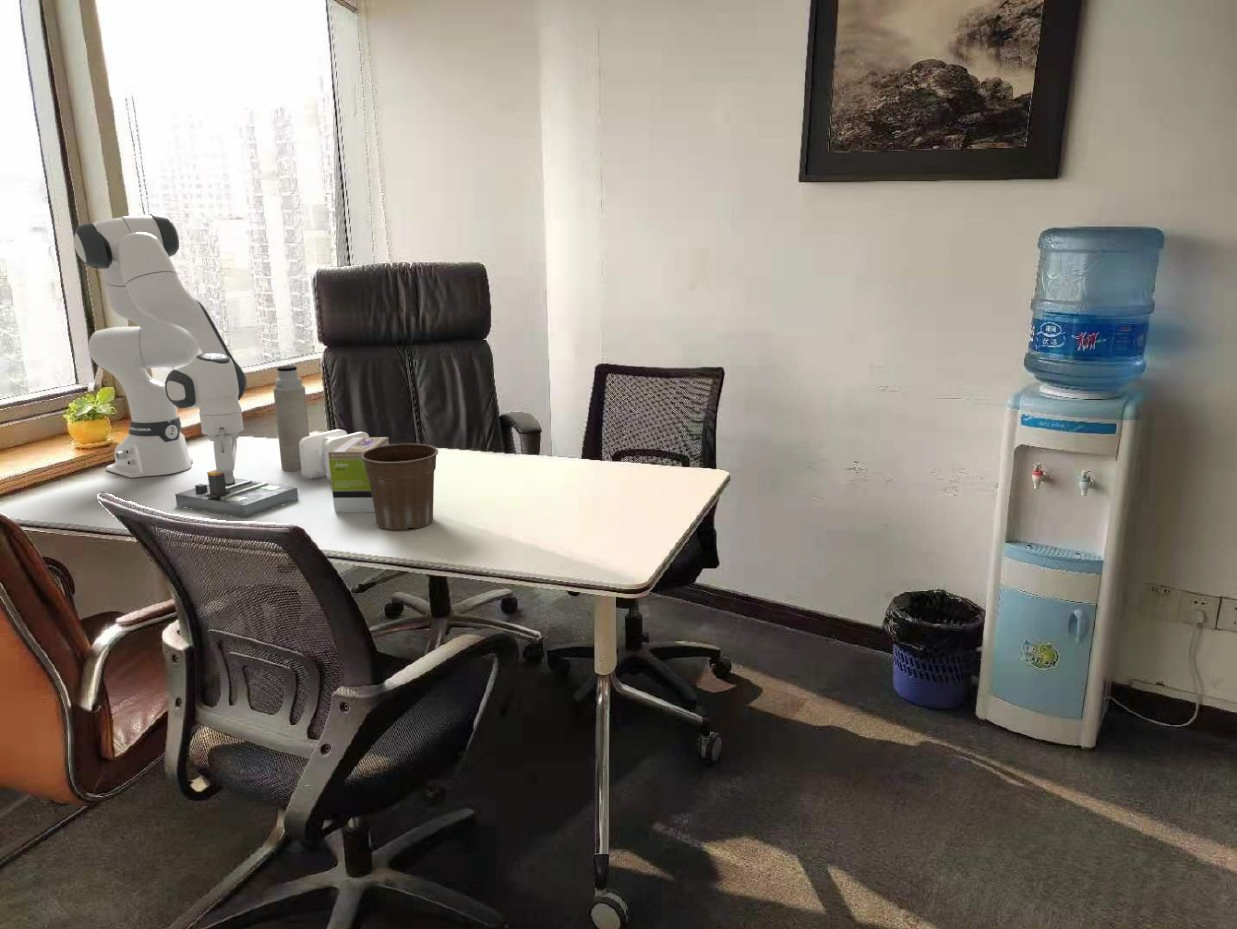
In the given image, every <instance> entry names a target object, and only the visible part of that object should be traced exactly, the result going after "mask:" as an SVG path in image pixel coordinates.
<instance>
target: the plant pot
mask: <svg viewBox="0 0 1237 929" xmlns="http://www.w3.org/2000/svg"><path fill="white" fill-rule="evenodd" d="M438 454H439V449H438V448H436V447H435V446H433V445H429V444H423V443H394V444H393V443H392V444H389V445H385V446H379V447H375V448H372V449H369V450H367V451H365V452H363V453H362V454H361V458H362V460H364V464H365V469H366V473H367V475H368V477H369V483H370V488H371V494H372V499H373V504H374V510H375V512H374V516H375V523H376V524H377V526H378V528H380V529H383V530H386V531H392V532H393V531H394V532H395V531H397V532H398V531H399V532H402V531H407V530H408V529H415V530H416V529H420V528H423V527H427V526H428V525H429V524H431V523H432V522H433V520H434V495H435V494H434V492H435V491H434V490H435V488H434V487H435V486H434V485H435V470H436V467H437V455H438Z"/></svg>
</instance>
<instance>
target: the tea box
mask: <svg viewBox="0 0 1237 929" xmlns="http://www.w3.org/2000/svg"><path fill="white" fill-rule="evenodd" d="M389 441H390V440H389V437H388V436H384V437H383V436H380V437H379V436H378V437H377V436H374V437H373V436H372V437H370V436H369V437H362V438H351V437H350V438H348V439H347V440H345V441H344V442H343V443H341V444H340V445H338V446H337V447H335V448H334V449H333V450H331V451H330V452H328V454H329V465H330V475H331V491H332V499H333V508H334V512H335V513H375V510H374V504H373V499H372V494H371V488H370V483H369V477H368V475H367V473H366V469H365V464H364V460H362V458H361V454H362V453H363V452H365V451H367V450H369V449H372V448H375V447H379V446H385V445H390V442H389Z"/></svg>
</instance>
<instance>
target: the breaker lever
mask: <svg viewBox="0 0 1237 929" xmlns="http://www.w3.org/2000/svg"><path fill="white" fill-rule="evenodd" d="M206 474H207V478H208V479H207V480H208V484H209V488H210V493H208V494H207V497H213V498H217V497H220V496H223V495H226V494H229V493H230V491H227V490H226V486H225V478H224V473H218V472H217V469H214V470H210V471H207V472H206Z"/></svg>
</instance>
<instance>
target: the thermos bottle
mask: <svg viewBox="0 0 1237 929" xmlns="http://www.w3.org/2000/svg"><path fill="white" fill-rule="evenodd" d="M276 369H277V370H276V371H278V372H277V378H275V383H274V385H275V387H273V389H272V391H273V397H274V400H273V401H274V409H275V417H276V426H277V435H278V436H277V437H278V446H279V453H280V454H279V455H280V463H281V464H280V465H281V469H282V471H285V470H286V472H296V471H297V472H298V471H299V472H301V471H302V470H301V460H300V450H299V442H300V440H301V439H302V438H304V437H307V436H310V431H309V416H308V408H307V407H308V406H307V397H306V394H307V393H306V387H305V385H303V384H302V382H303V381H302V378H301V377H299V376H298V371H297V370H298V368H297V366H295V365H283V366H279V367H277V368H276Z"/></svg>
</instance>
